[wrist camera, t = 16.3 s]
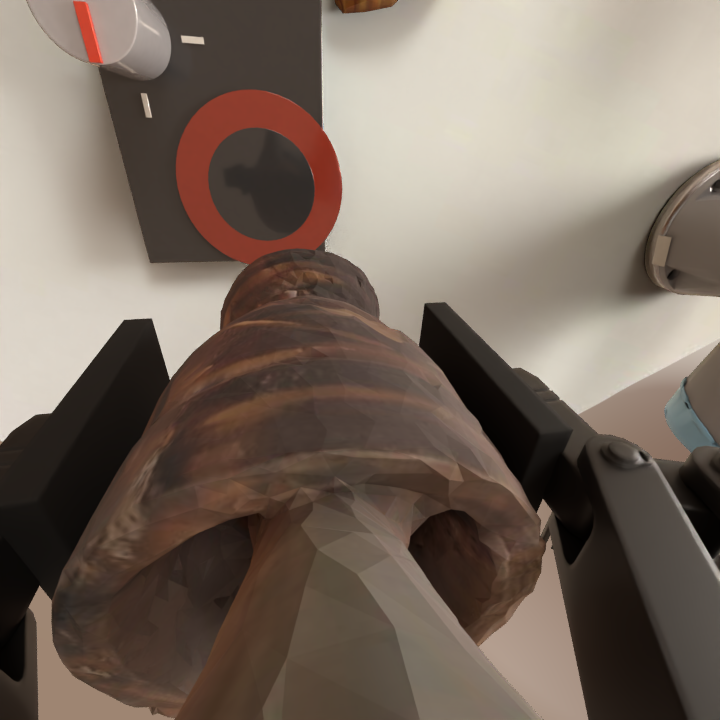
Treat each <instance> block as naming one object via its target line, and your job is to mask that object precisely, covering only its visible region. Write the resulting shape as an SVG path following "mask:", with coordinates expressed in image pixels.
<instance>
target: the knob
mask: <svg viewBox="0 0 720 720" xmlns="http://www.w3.org/2000/svg"><path fill="white" fill-rule="evenodd" d="M27 3H28V6H29V8H30V10H31V12H32V14H33V16H34V17H35V19H36V21H37V22H38V24H39V25H40V27H41V28H42V29H43V31H44V32H45V33H46V34H47V36H48V37H49V38H50V39H51V40H52V41H53V42H54V43H55V44H56V45H57V46H59V47H60V48H61V49H62V50H63V51H65V52H66V53H68V54H69V55H71V56H73V57H75V58H76V59H79V60H81V61H83V62H86V63H89V64H91V65H94V66H97V67H100V68H102V69H105V70H108V71H111V72H113V73H116V74H119V75H122V76H124V77H127V78H130V79H133V80H138V81H147V80H152V79H154V78H156V77H158V76H159V75H161V74H162V73H163V72H164V70H165V69H166V67H167V65H168V63H169V60H170V56H171V40H170V35H169V31H168V28H167V25H166V23H165V21H164V19H163V17H162V15H161V13H160V12H159V10H158V9H157V7H156V6H155V5H154V4H153V3H152V1H151V0H27Z"/></svg>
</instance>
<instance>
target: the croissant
mask: <svg viewBox="0 0 720 720" xmlns="http://www.w3.org/2000/svg"><path fill="white" fill-rule="evenodd" d="M397 1H398V0H335V4H336V5H337V6H338V8H339V9H340V10H341V11H342V13H356V12H367V11H372V10H377V9H382V8H387V7H391V6H393V5H394V4H395V3H396V2H397Z"/></svg>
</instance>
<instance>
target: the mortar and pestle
mask: <svg viewBox="0 0 720 720" xmlns="http://www.w3.org/2000/svg"><path fill="white" fill-rule="evenodd" d="M379 315H380V313H379V304H378V299H377V296H376V294H375V292H374V288H373V287H372V286H371V284H370V283H369V281H368V279H367V277H366V275H365V274H364V272H363V271H362V270H361V269H360V268H358V267H356V266H355V265H353V264H352V263H351V262H350V261H348V260H346V259H344V258H342V257H340V256H338V255H335V254H333V253H330V252H325V251H318V250H310V249H299V248H296V249H285V250H281V251H277V252H273V253H269V254H266V255H263V256H261V257H259V258H258V259H256V260H255V261H253V262H252V263H251V264H250V265H248V266H247V267H246V268H245V269H244V270H243V271H242V272H241V273H240V274H239V275H238V277H237V278H236V280H235V282H234V283H233V285H232V287H231V289H230V291H229V293H228V294H227V296H226V298H225V301H224V304H223V308H222V310H221V321H220V331H218V332H217V333H216V334H214V335H213V336H212V337H210V338H209V339H208V340H207V341H206V342H205V343H203V344H202V345H201V346H200V347H199V348H197V349H196V350H195V351H194V352H193V353H192V354H191V355H190V356H189V358H188V359H187V360H186V361H185V362H184V364H183V365H182V366H181V367H180V368H179V370H178V371H177V372H176V373H175V374H174V375H173V377H172V378H171V380H170V382H169V383H168V385H167V387H166V388H165V390H164V392H163V393H162V395H161V396H160V398H159V400H158V402H157V404H156V406H155V409H154V411H153V413H152V415H151V417H150V419H149V421H148V424H147V426H146V428H145V430H144V432H143V434H142V437H141V438H140V439H139V441H138V442H137V443H136V444H135V445H134V446H133V447H132V449H131V451H130V452H129V454H128V455H127V457H126V459H125V460H124V462H123V463H122V465H121V467H120V468H119V470H118V471H117V473H116V475H115V477H114V478H113V480H112V482H111V484H110V486H109V487H108V489H107V491H106V493H105V494H104V496H103V498H102V500H101V501H100V503H99V505H98V507H97V508H96V510H95V512H94V514H93V515H92V517H91V519H90V521H89V523H88V525H87V527H86V529H85V530H84V532H83V534H82V536H81V538H80V540H79V542H78V543H77V545H76V547H75V549H74V551H73V553H72V555H71V557H70V558H69V560H68V562H67V563H66V565H65V567H64V568H63V570H62V573H61V576H60V579H59V582H58V585H57V587H56V590H55V593H54V596H53V599H52V634H53V643H54V646H55V648H56V650H57V653H58V655H59V657H60V659H61V660H62V662H63V664H64V665H65V666H66V667H67V669H68V670H69V671H70V672H71V673H72V675H73V676H74V677H76V678H77V679H79V680H81V681H83V682H85V683H86V684H88V685H90V686H91V687H93V688H95V689H97V690H99V691H101V692H103V693H105V694H107V695H109V696H110V697H112V698H114V699H116V700H118V701H120V702H122V703H124V704H126V705H129V706H133V707H149V709H150V711H151V713H152V715H153V714H157V713H159V714H161V715H164V716H167V717H171V718H175V720H543V719H542V718H541V717H540V716H539V714H538V713H536V711H535V710H534V709H533V708H532V707H531V706H530V705H529V704H528V703H527V702H526V701H525V699H524V698H522V696H521V695H520V694H519V693H518V692H517V691H516V690H515V689H514V688H513V687H512V686H511V684H510V683H509V682H508V681H507V680H506V679H505V678H504V677H503V676H502V675H501V674H500V673H499V671H498V670H497V669H496V668H495V667H494V665H493V664H492V663H491V662H490V661H489V659H488V658H487V657H486V656H485V655H484V653H483V652H482V651H481V650H480V649H479V646H480V645H481V644H482V643H483V642H484V641H485V640H486V639H487V638H488V637H489V636H490V635H491V634H493V633H494V632H495V631H497V630H498V629H499V628H501V627H502V626H503V625H504V624H506V623H507V622H508V620H509V619H510V618H511V617H512V615H513V613H514V612H515V611H516V609H517V607H518V606H519V605H520V603H521V602H522V601H523V600H524V598H525V597H526V596H527V595H529V594H530V593H532V592H533V590H534V588H535V585H536V582H537V580H538V578H539V575H540V574H541V564H542V556H543V554H544V552H545V550H546V542H545V541H544V540H543V539H542V538H541V537H540V525H541V520H540V518H539V516H538V515H537V513H536V512H535V510H534V509H533V507H532V506H531V504H530V502H529V500H528V498H527V496H526V494H525V492H524V490H523V488H522V486H521V484H520V482H519V481H518V480H517V478H516V477H515V476H514V475H513V474H512V472H511V471H510V470H509V469H508V467H507V465H506V463H505V461H504V459H503V457H502V455H501V454H500V453H499V451H498V450H497V448H496V447H495V446H494V444H493V443H492V442H491V440H490V439H489V438H488V436H487V435H486V434H485V432H484V431H483V430H482V427H481V425H480V423H479V421H478V420H477V419H476V418H475V417H474V416H473V415H472V414H471V412H470V411H469V410H468V409H467V408H466V407H465V405H464V404H463V402H462V400H461V399H460V397H459V396H458V394H457V393H456V391H455V390H454V388H453V387H452V385H451V384H450V382H449V381H448V379H447V378H446V376H445V375H444V373H443V371H442V370H441V369H440V368H439V367H438V366H437V365H436V364H435V363H434V361H433V360H432V359H431V358H430V357H429V356H428V355H427V354H426V353H425V352H424V351H423V350H422V349H421V348H420V347H419V346H418V345H417V344H416V343H415V342H414V341H412V340H411V339H410V338H408V337H407V336H406V335H405V334H403V333H402V332H401V331H399V330H395V329H391V328H389V327H387V326H386V325H385V324H384V323H383V322H381V321H380V320H379Z"/></svg>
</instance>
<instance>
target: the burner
mask: <svg viewBox="0 0 720 720" xmlns="http://www.w3.org/2000/svg"><path fill="white" fill-rule="evenodd" d="M176 179H177V187H178V191H179V194H180V198H181V201H182V203H183V206H184V208H185V211H186V212H187V214H188V216H189V218H190V220H191V221H192V223H193V224H194V226H195V227H196V229H197V230H198V231H199V232H200V233H201V235H202V236H203V237H204V238H205V239H206V240H207V241H208V242H209V243H210V244H211V245H213V246H214V247H215V248H216V249H218V250H219V251H221V252H222V253H224V254H225V255H227V256H229V257H231V258H233V259H235V260H238V261H240V262H243V263H246V264H251V263H252V262H253V261H255V260H256V259H258V258H259V257H261V256H263V255H266V254H269V253H273V252H277V251H281V250H285V249H296V248H299V249H310V250H316V249H317V248H318V247H319V246H320V245H321V244H322V243H323V241H324V240H325V239H326V238H327V236H328V235H329V233H330V232H331V230H332V228H333V226H334V224H335V222H336V220H337V216H338V213H339V210H340V205H341V199H342V177H341V172H340V166H339V163H338V159H337V156H336V153H335V151H334V149H333V146H332V144H331V142H330V140H329V139H328V137H327V135H326V133H325V132H324V131H323V129H322V128H321V127H320V125H319V124H318V123H317V122H316V121H315V120H314V119H313V117H312V116H311V115H310V114H308V113H307V112H306V111H305V110H304V109H302V108H301V107H300V106H298V105H297V104H295V103H294V102H292V101H290V100H289V99H286V98H284V97H282V96H280V95H277V94H274V93H271V92H267V91H261V90H254V89H253V90H237V91H232V92H228V93H225V94H223V95H220V96H218V97H216V98H214V99H212V100H211V101H209V102H207V103H206V104H205V105H204V106H203V107H201V108H200V109H199V110H198V111H197V112H196V113H195V115H194V116H193V117H192V118H191V120H190V121H189V123H188V124H187V126H186V127H185V130H184V132H183V134H182V136H181V139H180V142H179V146H178V150H177V157H176Z"/></svg>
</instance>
